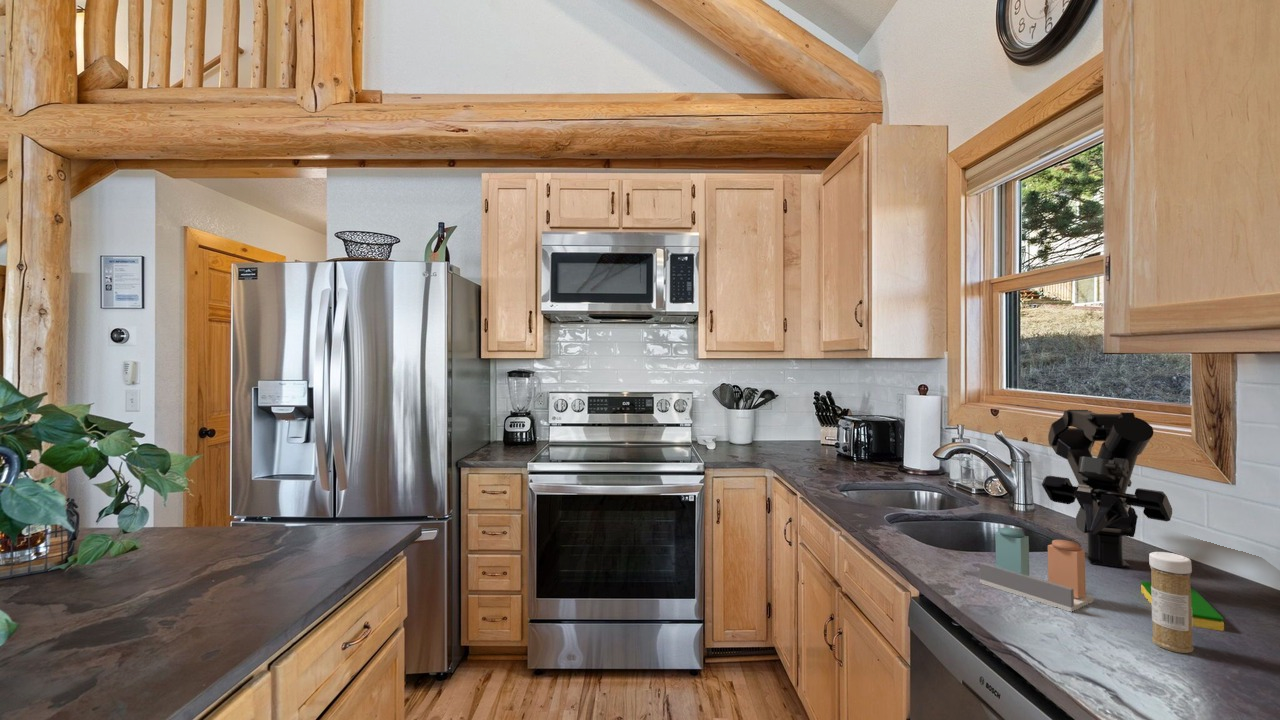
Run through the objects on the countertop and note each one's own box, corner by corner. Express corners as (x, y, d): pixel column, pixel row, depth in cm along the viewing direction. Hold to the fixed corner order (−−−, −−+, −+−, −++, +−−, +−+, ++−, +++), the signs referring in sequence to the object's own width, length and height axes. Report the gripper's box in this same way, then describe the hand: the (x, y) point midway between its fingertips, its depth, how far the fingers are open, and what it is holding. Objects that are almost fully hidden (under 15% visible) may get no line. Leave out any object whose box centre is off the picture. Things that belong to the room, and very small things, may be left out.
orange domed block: (1057, 585, 102) (1056, 538, 102) (1087, 594, 98) (1086, 544, 98) (1047, 590, 100) (1046, 541, 100) (1076, 599, 96) (1075, 548, 96)
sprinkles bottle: (1197, 648, 82) (1195, 556, 82) (1188, 657, 79) (1186, 563, 79) (1156, 636, 85) (1154, 548, 86) (1146, 644, 83) (1144, 554, 83)
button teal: (1005, 570, 110) (1004, 526, 110) (1030, 577, 106) (1029, 531, 106) (994, 574, 108) (993, 529, 108) (1020, 582, 104) (1019, 535, 104)
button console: (1002, 574, 111) (1002, 555, 111) (1093, 601, 98) (1092, 580, 98) (979, 583, 107) (979, 563, 107) (1071, 612, 94) (1070, 589, 94)
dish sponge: (1164, 623, 90) (1163, 608, 90) (1140, 593, 102) (1140, 580, 102) (1225, 634, 87) (1224, 618, 87) (1193, 601, 99) (1193, 587, 99)
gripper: (1045, 436, 114) (1019, 496, 109) (1165, 446, 99) (1143, 518, 93) (1063, 470, 118) (1039, 530, 113) (1181, 485, 103) (1161, 556, 97)
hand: (1090, 532), depth 103 cm, fingers closed
